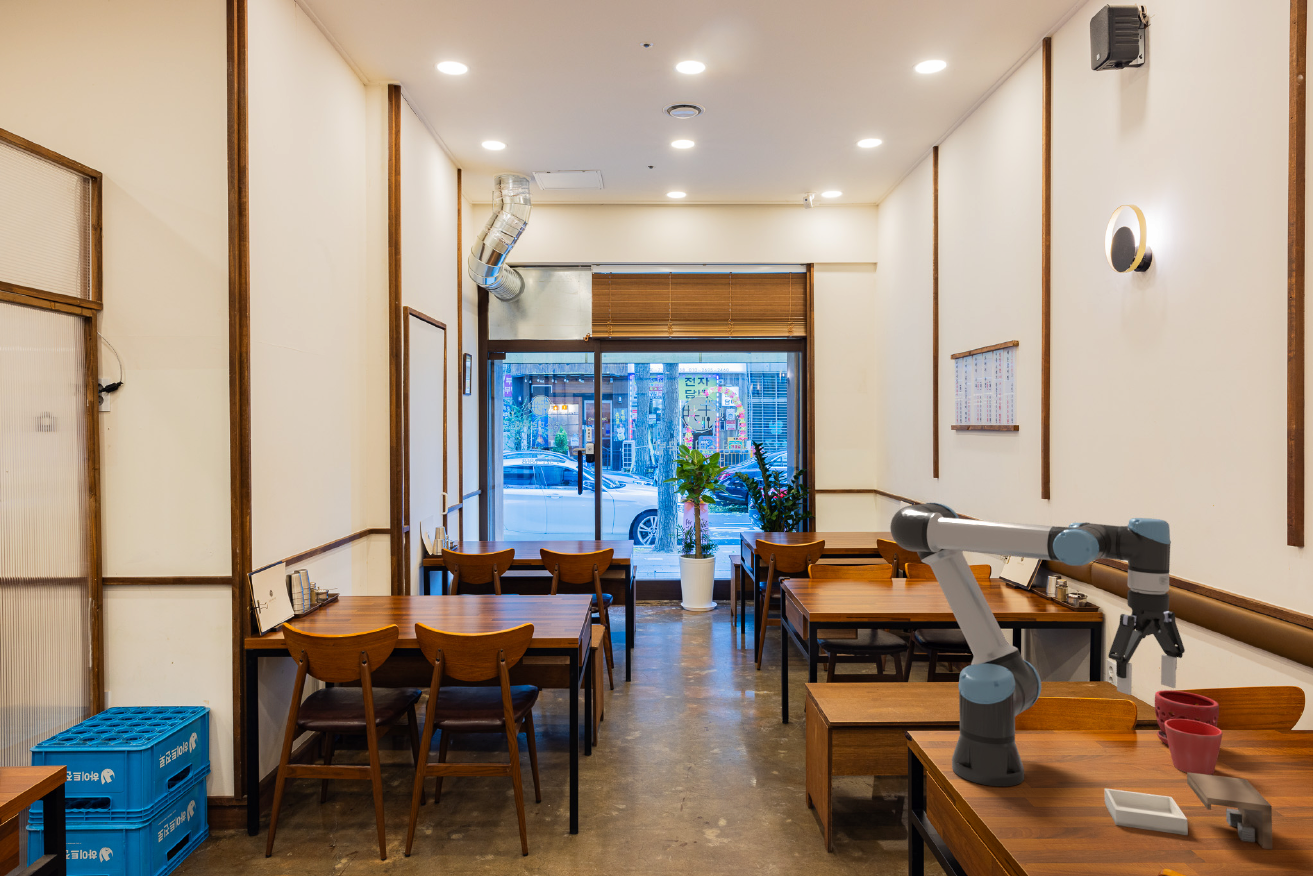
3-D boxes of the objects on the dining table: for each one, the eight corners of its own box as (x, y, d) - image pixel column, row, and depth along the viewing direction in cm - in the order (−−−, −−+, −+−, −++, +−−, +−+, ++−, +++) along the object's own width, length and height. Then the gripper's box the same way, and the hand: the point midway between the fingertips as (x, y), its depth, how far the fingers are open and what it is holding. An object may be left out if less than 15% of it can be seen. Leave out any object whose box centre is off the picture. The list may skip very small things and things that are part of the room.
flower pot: (1225, 782, 168) (1224, 738, 168) (1166, 772, 174) (1165, 729, 174) (1220, 765, 177) (1220, 724, 177) (1164, 756, 183) (1163, 715, 183)
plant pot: (1203, 760, 180) (1202, 709, 181) (1144, 741, 192) (1144, 694, 192) (1229, 749, 187) (1229, 700, 187) (1171, 732, 198) (1171, 685, 199)
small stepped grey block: (1242, 840, 143) (1241, 827, 143) (1226, 821, 151) (1226, 808, 151) (1254, 842, 142) (1254, 829, 142) (1238, 822, 150) (1238, 810, 150)
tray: (1115, 825, 149) (1115, 809, 149) (1104, 802, 159) (1104, 788, 159) (1187, 835, 145) (1187, 819, 145) (1171, 811, 155) (1171, 797, 155)
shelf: (1208, 840, 143) (1207, 797, 143) (1187, 811, 154) (1186, 772, 155) (1272, 849, 140) (1271, 805, 140) (1246, 819, 151) (1245, 779, 151)
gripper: (1123, 597, 155) (1121, 701, 155) (1205, 590, 164) (1203, 688, 164) (1090, 590, 162) (1088, 689, 162) (1170, 584, 171) (1169, 678, 171)
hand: (1146, 689), depth 163 cm, fingers open, 13 cm apart
